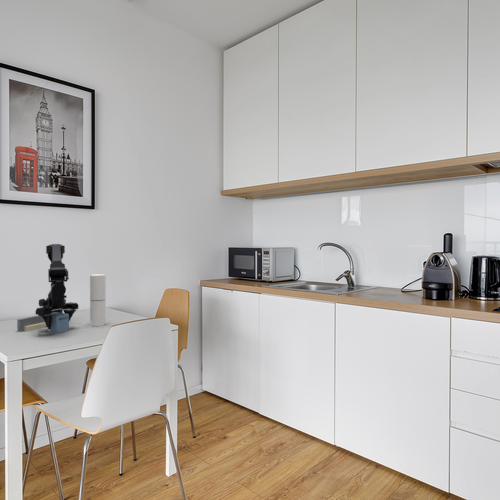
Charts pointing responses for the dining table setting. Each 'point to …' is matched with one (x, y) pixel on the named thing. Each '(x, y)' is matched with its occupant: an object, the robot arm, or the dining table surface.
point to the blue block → (59, 323)
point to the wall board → (31, 323)
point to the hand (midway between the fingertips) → (57, 327)
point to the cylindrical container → (97, 300)
